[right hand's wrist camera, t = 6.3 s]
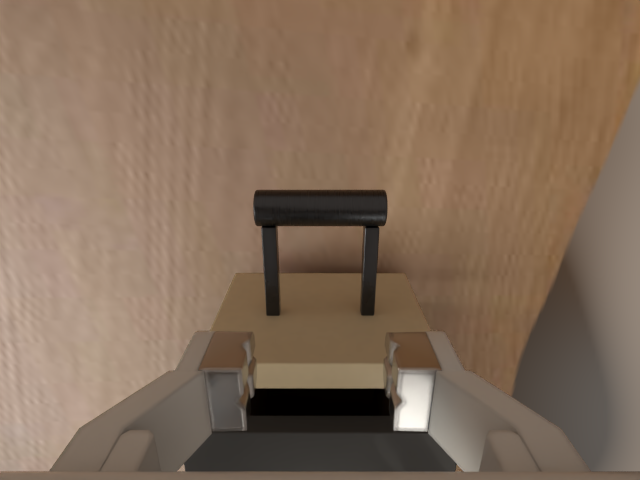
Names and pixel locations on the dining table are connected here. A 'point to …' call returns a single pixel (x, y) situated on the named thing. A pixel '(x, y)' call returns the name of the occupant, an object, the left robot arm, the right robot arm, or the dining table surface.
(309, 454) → the drawer cabinet
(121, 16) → the dining table surface
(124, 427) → the right robot arm
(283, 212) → the drawer
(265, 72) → the dining table surface
